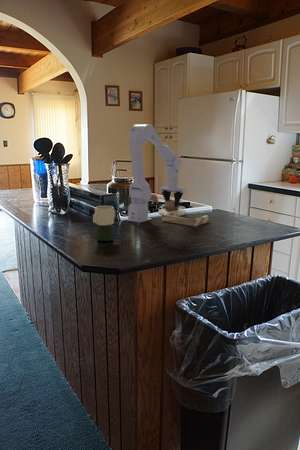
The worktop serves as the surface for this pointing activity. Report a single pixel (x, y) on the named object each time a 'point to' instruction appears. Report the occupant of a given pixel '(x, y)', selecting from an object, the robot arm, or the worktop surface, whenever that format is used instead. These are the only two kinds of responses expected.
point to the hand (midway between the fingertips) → (172, 205)
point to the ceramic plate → (163, 211)
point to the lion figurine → (154, 199)
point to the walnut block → (171, 205)
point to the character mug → (104, 222)
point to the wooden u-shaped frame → (183, 219)
